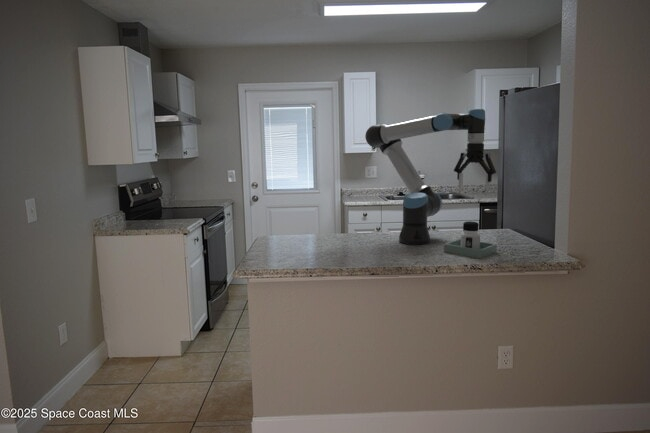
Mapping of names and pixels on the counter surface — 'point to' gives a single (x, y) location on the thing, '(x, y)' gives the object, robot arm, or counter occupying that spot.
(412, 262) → the counter surface
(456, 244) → the box
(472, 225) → the container
